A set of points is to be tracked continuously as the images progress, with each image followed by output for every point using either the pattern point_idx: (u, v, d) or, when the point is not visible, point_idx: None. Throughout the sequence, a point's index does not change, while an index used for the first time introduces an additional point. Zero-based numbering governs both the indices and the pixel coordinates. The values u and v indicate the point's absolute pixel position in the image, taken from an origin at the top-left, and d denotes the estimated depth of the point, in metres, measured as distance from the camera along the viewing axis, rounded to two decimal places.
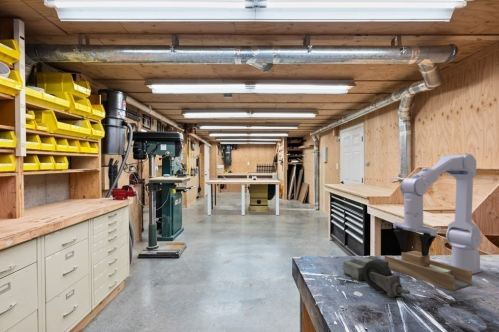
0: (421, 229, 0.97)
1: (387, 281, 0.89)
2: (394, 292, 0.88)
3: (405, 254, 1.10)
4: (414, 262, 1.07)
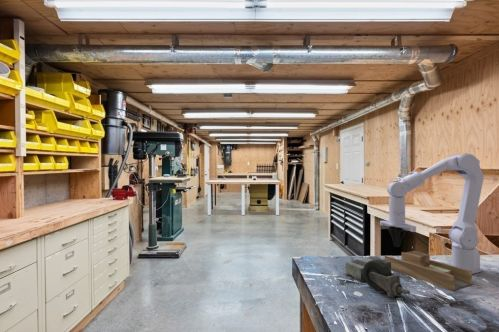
0: (403, 226, 1.12)
1: (387, 281, 0.89)
2: (394, 292, 0.88)
3: (405, 254, 1.10)
4: (414, 262, 1.07)
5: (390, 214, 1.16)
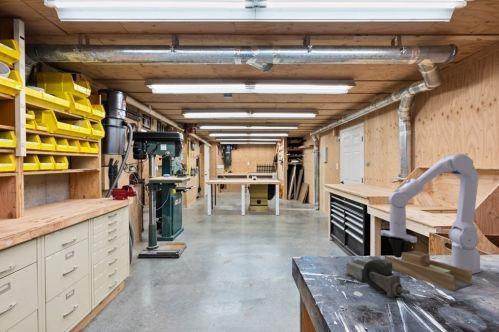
0: (403, 237, 1.12)
1: (387, 281, 0.89)
2: (394, 292, 0.88)
3: (405, 254, 1.10)
4: (414, 262, 1.07)
5: (391, 224, 1.16)
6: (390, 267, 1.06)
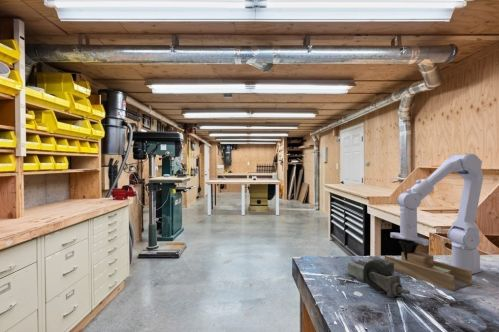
0: (415, 239, 1.08)
1: (387, 281, 0.89)
2: (394, 292, 0.88)
3: (408, 255, 1.09)
4: (418, 263, 1.06)
5: (401, 226, 1.12)
6: (392, 267, 1.05)
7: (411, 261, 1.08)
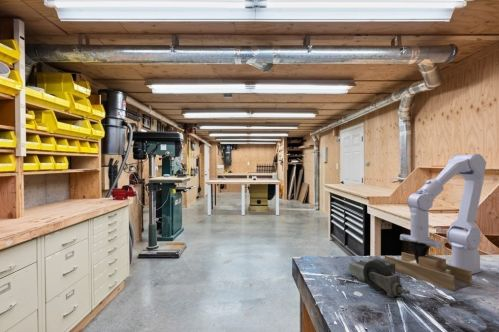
0: (427, 242, 1.04)
1: (387, 281, 0.89)
2: (394, 292, 0.88)
3: (420, 258, 1.05)
4: (430, 267, 1.02)
5: (412, 228, 1.08)
6: (393, 268, 1.05)
7: (423, 265, 1.04)
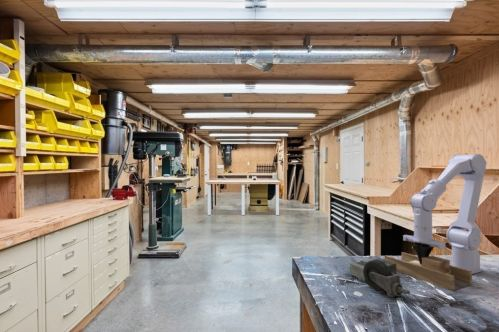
0: (430, 243, 1.03)
1: (387, 281, 0.89)
2: (394, 292, 0.88)
3: (423, 259, 1.04)
4: (433, 268, 1.01)
5: (415, 229, 1.07)
6: (394, 268, 1.05)
7: (426, 266, 1.03)
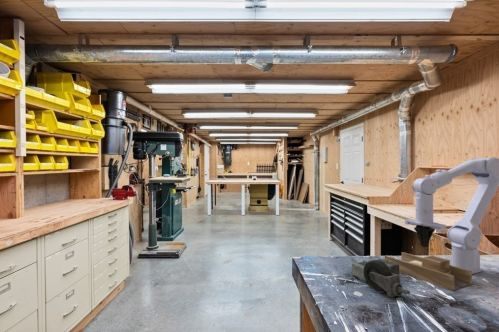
0: (431, 225, 1.07)
1: (387, 281, 0.89)
2: (394, 292, 0.88)
3: (423, 259, 1.04)
4: (433, 268, 1.01)
5: (417, 212, 1.11)
6: (397, 269, 1.03)
7: (426, 266, 1.03)
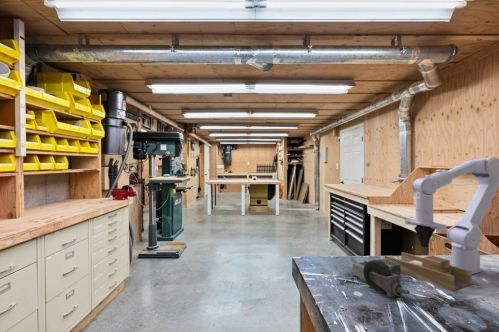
0: (431, 225, 1.07)
1: (386, 281, 0.89)
2: (394, 292, 0.88)
3: (423, 259, 1.04)
4: (433, 268, 1.01)
5: (417, 212, 1.11)
6: (398, 270, 1.03)
7: (426, 266, 1.03)
